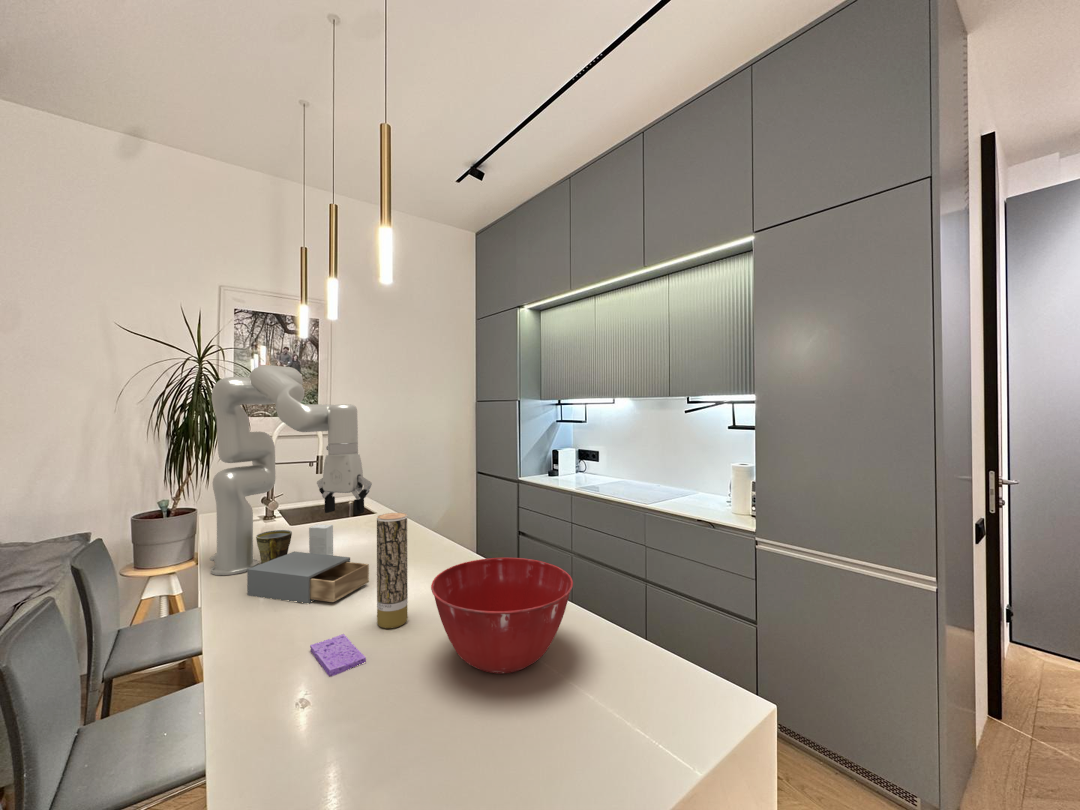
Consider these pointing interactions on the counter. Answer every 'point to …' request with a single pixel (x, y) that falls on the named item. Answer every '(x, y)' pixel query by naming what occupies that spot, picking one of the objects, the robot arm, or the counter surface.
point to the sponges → (337, 654)
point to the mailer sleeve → (289, 575)
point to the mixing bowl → (501, 610)
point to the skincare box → (321, 539)
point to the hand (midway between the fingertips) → (344, 512)
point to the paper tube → (392, 570)
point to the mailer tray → (338, 581)
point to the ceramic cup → (273, 544)
